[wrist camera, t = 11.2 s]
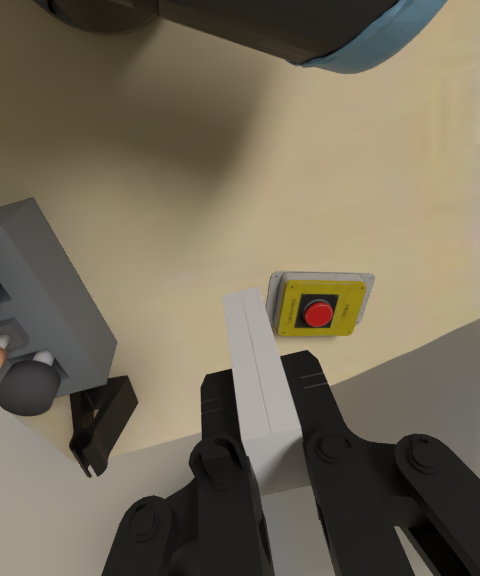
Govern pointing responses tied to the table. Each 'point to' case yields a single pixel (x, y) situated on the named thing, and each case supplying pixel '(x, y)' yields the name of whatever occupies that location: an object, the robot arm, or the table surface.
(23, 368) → the knob
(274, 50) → the robot arm
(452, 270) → the table surface
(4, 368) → the mount
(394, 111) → the table surface
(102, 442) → the phone stand
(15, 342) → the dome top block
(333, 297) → the emergency button
